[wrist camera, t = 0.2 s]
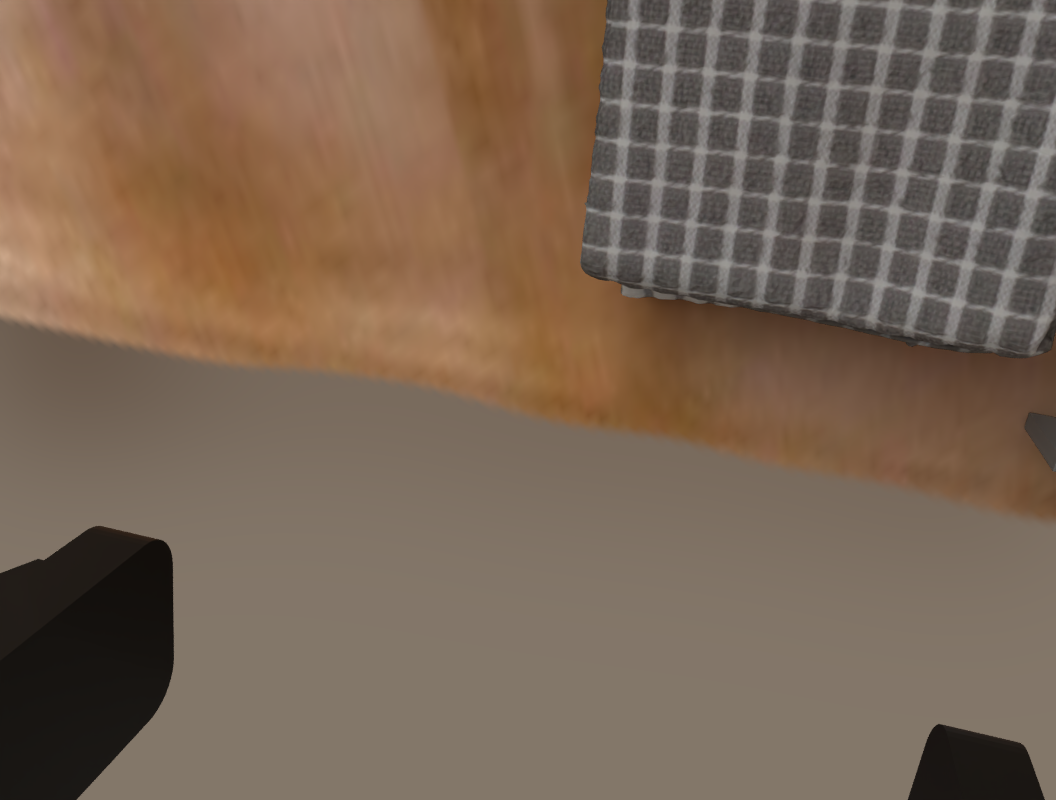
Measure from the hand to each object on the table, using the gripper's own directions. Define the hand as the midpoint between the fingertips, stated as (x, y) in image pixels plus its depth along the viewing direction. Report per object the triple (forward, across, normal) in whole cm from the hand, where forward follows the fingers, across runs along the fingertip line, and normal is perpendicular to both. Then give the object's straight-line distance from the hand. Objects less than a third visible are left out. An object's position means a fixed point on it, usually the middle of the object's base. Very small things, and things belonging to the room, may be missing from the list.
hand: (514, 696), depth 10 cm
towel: (+29, -4, -7) cm, 30 cm away
